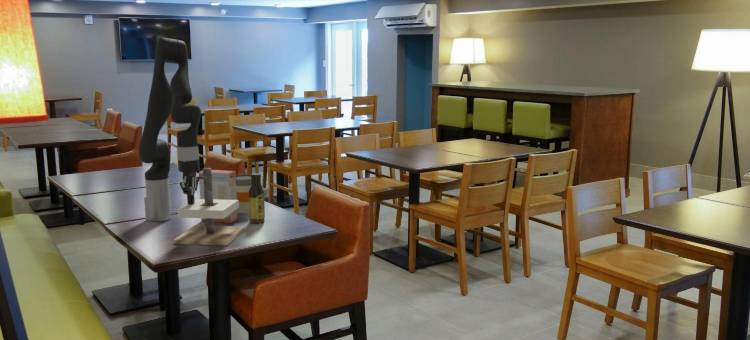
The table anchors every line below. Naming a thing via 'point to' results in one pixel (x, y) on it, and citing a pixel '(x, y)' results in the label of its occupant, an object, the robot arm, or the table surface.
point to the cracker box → (221, 190)
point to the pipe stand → (209, 224)
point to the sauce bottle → (256, 200)
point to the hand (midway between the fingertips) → (191, 204)
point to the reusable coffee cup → (243, 192)
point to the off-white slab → (208, 209)
